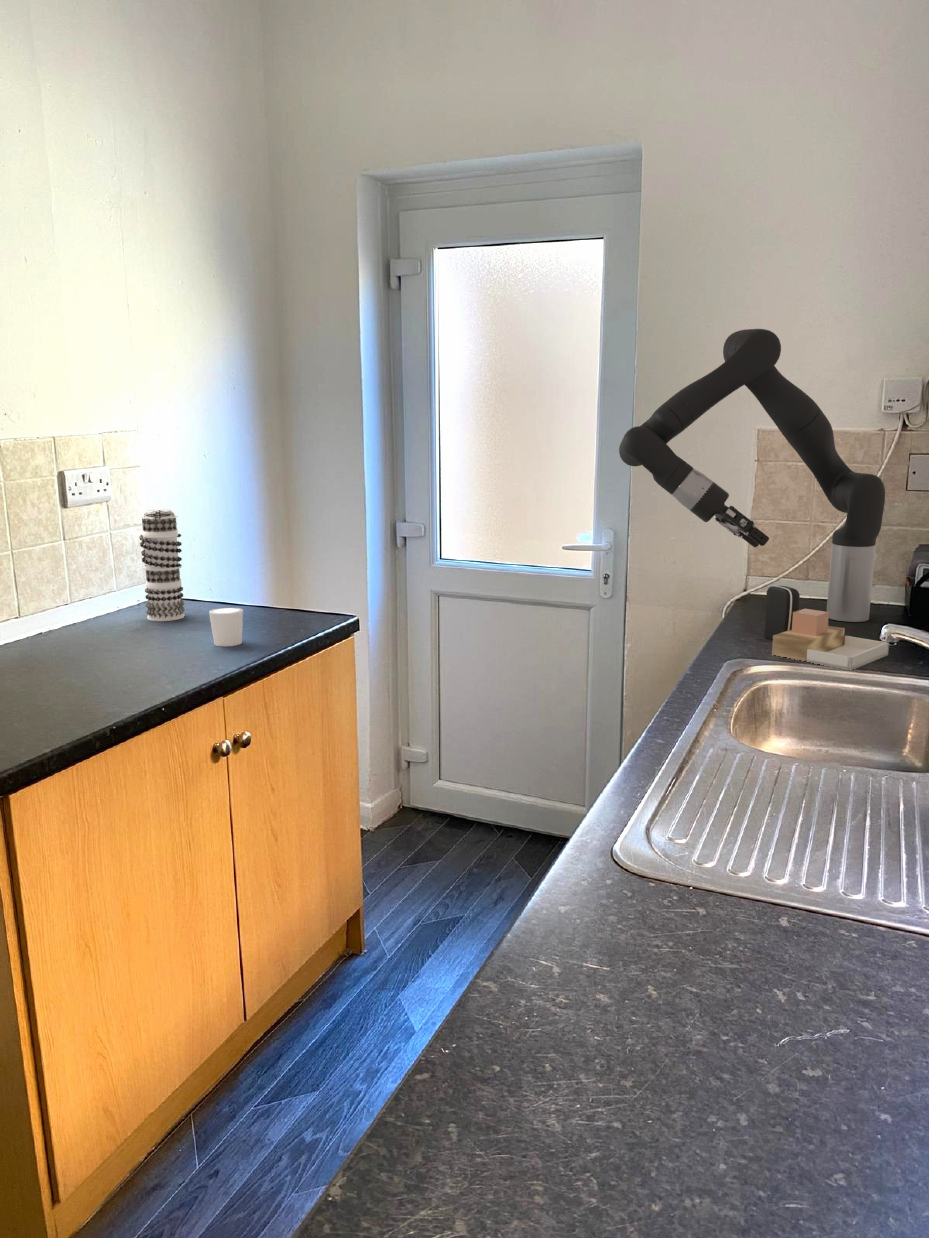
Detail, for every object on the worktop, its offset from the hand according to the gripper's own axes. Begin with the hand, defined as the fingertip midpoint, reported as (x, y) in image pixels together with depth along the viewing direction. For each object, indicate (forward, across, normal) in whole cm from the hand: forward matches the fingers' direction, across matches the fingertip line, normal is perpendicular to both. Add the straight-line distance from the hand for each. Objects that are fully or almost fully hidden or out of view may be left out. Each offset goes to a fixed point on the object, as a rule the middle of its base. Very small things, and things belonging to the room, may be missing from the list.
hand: (762, 543), depth 198 cm
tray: (+25, -12, +9) cm, 29 cm away
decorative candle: (-94, +8, +96) cm, 135 cm away
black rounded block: (+16, +2, +13) cm, 21 cm away
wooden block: (+20, -7, +12) cm, 24 cm away
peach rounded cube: (+17, -7, +9) cm, 21 cm away
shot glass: (-73, -14, +85) cm, 113 cm away
